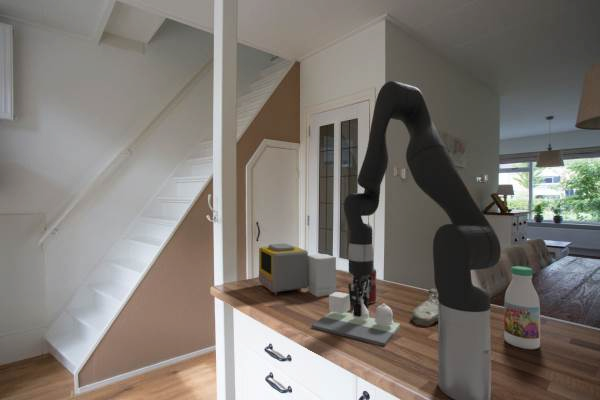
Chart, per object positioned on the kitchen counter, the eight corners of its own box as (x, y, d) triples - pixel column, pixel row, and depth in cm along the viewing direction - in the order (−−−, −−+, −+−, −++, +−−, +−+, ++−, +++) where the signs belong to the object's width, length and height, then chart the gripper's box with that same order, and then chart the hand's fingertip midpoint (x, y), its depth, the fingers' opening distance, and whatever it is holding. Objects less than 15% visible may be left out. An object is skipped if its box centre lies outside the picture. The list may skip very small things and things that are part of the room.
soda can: (376, 304, 113) (376, 271, 113) (356, 303, 114) (356, 270, 114) (376, 298, 120) (375, 267, 120) (356, 297, 122) (356, 266, 121)
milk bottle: (506, 334, 88) (506, 263, 88) (540, 342, 83) (540, 267, 83) (502, 344, 82) (502, 268, 82) (539, 353, 77) (539, 272, 77)
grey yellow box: (257, 285, 139) (257, 243, 139) (290, 281, 145) (290, 241, 145) (272, 298, 121) (272, 250, 121) (309, 292, 128) (308, 247, 128)
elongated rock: (402, 326, 98) (435, 336, 92) (402, 309, 98) (436, 319, 91) (436, 293, 125) (464, 300, 118) (437, 280, 124) (464, 286, 118)
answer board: (400, 326, 94) (400, 323, 94) (384, 346, 81) (384, 343, 81) (334, 312, 106) (334, 309, 106) (311, 327, 93) (311, 324, 93)
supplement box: (336, 294, 125) (336, 257, 125) (316, 297, 122) (316, 258, 122) (326, 288, 133) (326, 253, 133) (307, 290, 130) (307, 254, 130)
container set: (328, 312, 100) (328, 295, 100) (337, 307, 104) (336, 291, 105) (389, 327, 88) (389, 307, 88) (395, 321, 92) (395, 302, 92)
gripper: (364, 263, 88) (364, 323, 88) (380, 255, 100) (380, 308, 100) (339, 260, 92) (339, 318, 92) (358, 253, 104) (358, 304, 104)
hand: (361, 312), depth 96 cm, fingers closed on container set, 5 cm apart
